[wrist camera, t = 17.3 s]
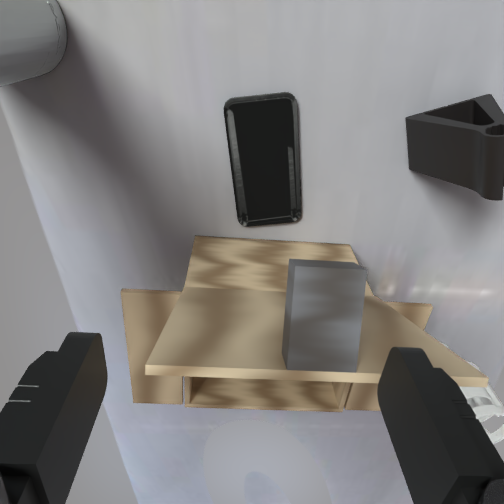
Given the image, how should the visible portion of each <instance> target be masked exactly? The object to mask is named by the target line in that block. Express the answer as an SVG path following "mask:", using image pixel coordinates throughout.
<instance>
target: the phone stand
mask: <svg viewBox="0 0 504 504" xmlns="http://www.w3.org/2000/svg"><path fill="white" fill-rule="evenodd" d="M406 130H407V143H408V157H409V169H411V170H414V171H417V172H420V173H423V174H426V175H429V176H432V177H435V178H438V179H442V180H445V181H448V182H451V183H454V184H457V185H460V186H463V187H466V188H469V189H472V190H474V191H476V192H478V193H479V194H480V195H481V196H482V197H483V198H485V199H489V200H502V198H503V187H504V114H503V112H502V110H501V109H500V107H499V106H498V104H497V102H496V101H495V99H494V98H493V96H492V95H491V94H488V95H484V96H480V97H476V98H473V99H469V100H466V101H462V102H459V103H455V104H451V105H448V106H444V107H441V108H437V109H434V110H430V111H426V112H423V113H419V114H416V115H412V116H409V117H406Z"/></svg>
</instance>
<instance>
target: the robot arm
mask: <svg viewBox="0 0 504 504" xmlns="http://www.w3.org/2000/svg"><path fill="white" fill-rule="evenodd" d="M66 43H67V29H66V24H65V20H64V16H63V14H62V11H61V9H60V7H59V5H58V3H57V1H56V0H0V87H1V86H5V85H8V84H12V83H15V82H19V81H23V80H26V79H30V78H33V77H37V76H40V75H43V74H45V73H48V72H50V71H51V70H52V69H54V68H55V67H56V66H57V65H58V63H59V62H60V61H61V59H62V57H63V55H64V52H65V49H66ZM106 386H107V367H106V361H105V354H104V348H103V342H102V337H101V334H100V333H84V332H70V333H68V335H67V336H66V338H65V340H64V342H63V343H62V345H61V347H60V349H59V351H58V352H54V351H46V352H45V353H44V354H42V355H41V356H40V357H39V358H38V359H37V360H36V361H34V362H33V363H32V364H31V365H30V366H29V367H28V368H27V370H26V372H25V373H24V375H23V376H22V378H21V380H20V381H19V383H18V387H17V388H15V390H14V391H13V393H12V394H11V396H10V398H9V402H8V403H6V404H5V406H4V408H3V409H2V411H1V412H0V504H65V502H66V500H67V497H68V494H69V492H70V489H71V486H72V483H73V481H74V477H75V475H76V472H77V469H78V467H79V464H80V461H81V459H82V456H83V453H84V450H85V447H86V445H87V442H88V439H89V437H90V434H91V431H92V428H93V425H94V423H95V420H96V417H97V414H98V412H99V409H100V406H101V403H102V401H103V398H104V395H105V391H106ZM377 397H378V403H379V407H380V410H381V412H382V415H383V418H384V421H385V424H386V427H387V429H388V432H389V435H390V438H391V441H392V443H393V446H394V449H395V452H396V455H397V458H398V460H399V463H400V466H401V469H402V472H403V475H404V477H405V480H406V483H407V486H408V489H409V491H410V494H411V497H412V500H413V503H414V504H504V462H503V460H502V459H501V457H500V455H499V454H498V452H497V450H496V448H495V447H494V445H493V443H492V442H491V440H490V438H489V437H488V435H487V433H486V431H485V430H484V428H483V426H482V425H481V423H480V421H479V420H478V419H476V414H475V413H474V411H473V409H472V408H471V406H470V404H468V403H467V399H466V397H465V396H464V394H463V392H462V391H461V389H460V387H459V386H458V384H457V383H456V382H455V381H454V380H453V379H452V378H451V377H450V376H449V375H448V374H447V373H446V372H445V371H444V370H443V369H442V368H433V366H432V364H431V362H430V360H429V358H428V357H427V355H426V353H425V351H424V350H423V349H421V348H413V347H392V348H391V350H390V352H389V354H388V357H387V360H386V363H385V366H384V368H383V371H382V374H381V377H380V380H379V383H378V388H377Z"/></svg>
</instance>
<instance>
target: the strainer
mask: <svg viewBox="0 0 504 504" xmlns="http://www.w3.org/2000/svg"><path fill="white" fill-rule="evenodd" d="M441 344H443V343H441ZM443 345H444V346H446V347H447V348H448V349H449V347H448V346H447V345H446V344H443ZM466 362H468V361H466ZM468 363H469V364H470V365H472V366H473V367H474V368H476V369H477V370H479V371H480V369H479V368H478V366H477V365H475V364H474V363H471V362H468ZM480 372H481V371H480ZM481 373H482V372H481ZM459 387H460V389H461V391H462V392H463V394H464V396H465V397H466V399H467V403H468V404H470V406H471V408H472V409H473V411H474V413H475V414H476V419H478V420H479V421H480V423H481V422H484V421H486V420H487V419H489V418H490V417H491V416H492V415H496V416H497V417H498V418H499V416H504V405H503V403H502V402H501V400H500V399H499V397H498V396H497V394H496V393H495V392H494V390H493V389H492V387H491V386H490V384H489V383H488V385H487V387H462V386H459ZM483 428H484V427H483ZM484 430H485V431H486V433H487V435H488V437H489V438H490V440H491V442H492V443H493V444H495V443H498V442H500V441H502V440H503V439H504V424H503V425H502V426H501V427H500V428H499V429H498V430H496V431H495V432H493V433H491V434H490V432H489V430H487V429H486V428H484Z"/></svg>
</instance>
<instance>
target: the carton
mask: <svg viewBox="0 0 504 504" xmlns="http://www.w3.org/2000/svg"><path fill="white" fill-rule="evenodd" d="M289 259H305V260H323V261H341V262H355V263H356V264H358V262H357V260H356V257H355V255H354V253H353V251H352V249H351V247H350V245H348V244H331V243H314V242H297V241H279V240H262V239H245V238H228V237H211V236H195V239H194V244H193V248H192V253H191V258H190V262H189V267H188V272H187V277H186V281H185V286H184V287H200V288H220V289H240V290H260V291H280V292H286V290H287V278H288V265H289ZM358 265H359V264H358ZM180 294H181V291H161V290H141V289H122V290H121V299H122V308H123V317H124V325H125V334H126V343H127V351H128V360H129V369H130V377H131V386H132V394H133V403H155V404H183V376H161V375H145V365H146V363H147V361H148V359H149V357H150V355H151V353H152V351H153V349H154V347H155V345H156V343H157V341H158V339H159V337H160V335H161V332H162V330H163V328H164V326H165V324H166V322H167V320H168V318H169V316H170V314H171V312H172V310H173V308H174V306H175V304H176V302H177V300H178V298H179V296H180ZM365 296H374V295H373V293H372V291H371V289H370V287H369V285H368V283H367V281H366V288H365ZM385 303H386V304H388V305H389V306H390V307H392V308H393V309H394V310H396V311H397V312H399V313H400V314H401V315H403V316H404V317H406V318H407V319H408V320H410V321H411V322H412V323H414V324H415V325H417V326H418V327H419V328H421V329H422V330H423V331H424V328H425V326H426V323H427V321H428V319H429V316H430V314H431V311H432V309H433V307H432V305H431V304H423V303H403V302H385ZM377 388H378V383H352V382H325V381H298V380H271V379H243V378H216V377H189V376H185V407H197V408H229V409H260V410H291V411H323V412H342V411H343V408H344V407H345V410H371V411H381V410H380V407H379V403H378V397H377ZM348 391H349V392H348Z"/></svg>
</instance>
